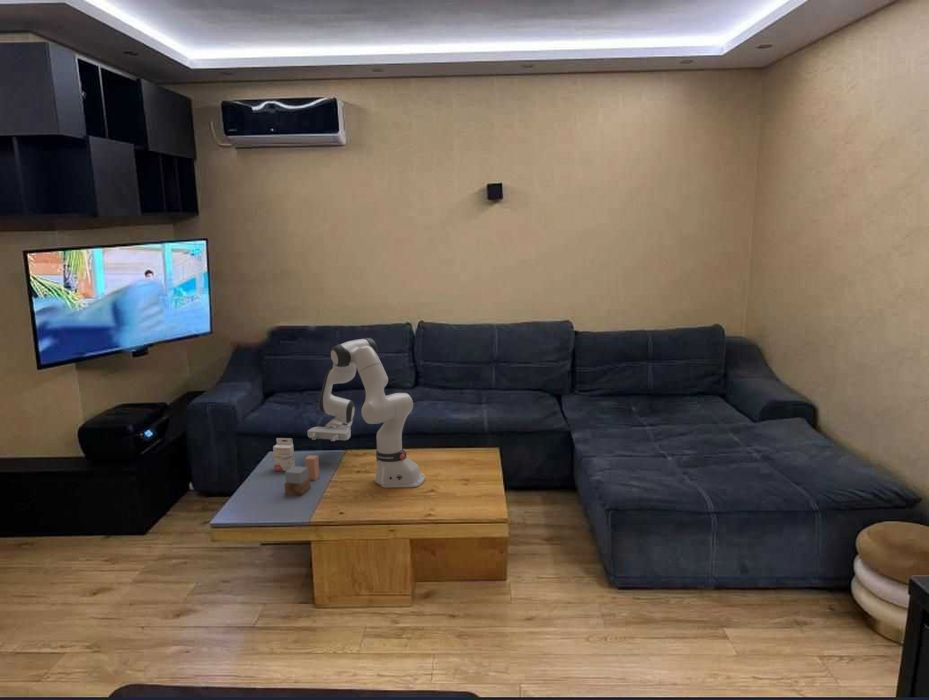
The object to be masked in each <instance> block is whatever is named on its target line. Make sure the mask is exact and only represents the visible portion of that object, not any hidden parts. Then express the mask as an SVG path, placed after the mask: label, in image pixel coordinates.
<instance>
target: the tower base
mask: <svg viewBox="0 0 929 700" xmlns="http://www.w3.org/2000/svg"><path fill="white" fill-rule="evenodd" d="M311 486H312V485H311V480H310V478H308V479H307V480H306V481H304V482H303V483H302V484H292V483H286V482H285V483H284V491H285V492H284V493H285V495H293V496H295V495H296V496H303V495H305V494H306V493H307V492H309V490H310V489H311ZM304 493H305V494H304Z"/></svg>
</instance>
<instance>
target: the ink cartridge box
mask: <svg viewBox="0 0 929 700" xmlns="http://www.w3.org/2000/svg"><path fill="white" fill-rule="evenodd" d="M275 441H276V444H275V445H273V447H272V450H273V451H272V454H273V466H274V467H273V468H274V471H277V472H278V471H282V472H286V471H287V470H289V469H290V468H291V467H293V466H296V465H295V463H296V462H295V452H294V451H295V450H294V449H295V448H294V443H293V441H294V440H293V438H290V437H289V438H287V437H285V438H284V437H277V438H276V440H275Z"/></svg>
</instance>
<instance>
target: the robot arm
mask: <svg viewBox="0 0 929 700" xmlns="http://www.w3.org/2000/svg"><path fill="white" fill-rule="evenodd" d="M378 352H379V351H378V346H377V342H376V341H375V340H374V339H373V338H371V337H363V338H360V339H353V340H348V341H345V342H343V343H341V344H340V343H338V344H337V345H335V346H332V347H331V350H330V358H331V361H332V363H333V364H332V368H331V369H330V368H329V370H327V373H326V374H325V377H324V379H323V385H322V389H321V393H320V396H319V400H318V402H317V409H318V411H319V412H320V414H324V415H329V416H333V417H334V418H333V419H331V420H330V421H329V422H328V423H326V424H325V426H313V427H311V428H309V429H308V430H307V437H308V438H309V439H311V440H312V441H315V440H317V439H321V440H330V442H335V441H347V440H349V439H350V438H351V436H352V435H351V432H352V431H351V430H352V429H351V428H352V427H351V426H352V425H353V422H354V421H353V420H354V418H355V416H356V410H357V409H356V405H355V402H354V401H352V400H350V399H347V398H344V397H340V396H335V395H333V394H332V390H333V385H335V384H346V383H349V382H350V381H352V380H353V379H354V378H355V376H356V373H357V372H358V374H359V377H360V378H361V383H362V384H363V387H364V390H365V399H364V403H363V404H362V407H361V412H360V413H361V416H362V419H363V420H364V422H365V423H367V424H370V425H374V424H375V425H377V424H382V423H383V424H382V425H381V426H380V428H379V429H378V431H377V432H376V450H375V452H376V453H375V458H376V463H377V464H376V472H375V478H374V483H376V484H377V485H380V486H381V488H386V489H387V488H388V489H389V488H416V487H420V486H421V485H423V483H424V482H425V481H426V476H425V474H424V473H422V472H421V471H420V470H421V469H420V468H419V464H417V463H416V462H414V461H413V460H411V459H410V458H409V457H407V453H408V450H407V449H406V450H404V448H403V442H402V441H403V439H402V438H403V437H402V436H403V435H402V434H403V429H404V425H405V423H406V419H407V418H408V416H409V415H410V413H411V412H412V410H413V408H414V401H413V399H412V397H411V396H410V394H408V393H407V392H395V393H391V394H387V395H386V393H385V388H386V386H387V384H388V382H389V377H388V375H387V372H386V370H385V368H384V366H383V363H382V362H381V360H380V358H379V355H378Z"/></svg>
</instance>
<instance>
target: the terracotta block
mask: <svg viewBox="0 0 929 700" xmlns="http://www.w3.org/2000/svg"><path fill="white" fill-rule="evenodd" d="M319 463H320V462H319V455H311V454H309V455H307V456H306V457H305V458H304V467H308V478H310V481H316V480H318V479H319V478H320V464H319Z"/></svg>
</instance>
